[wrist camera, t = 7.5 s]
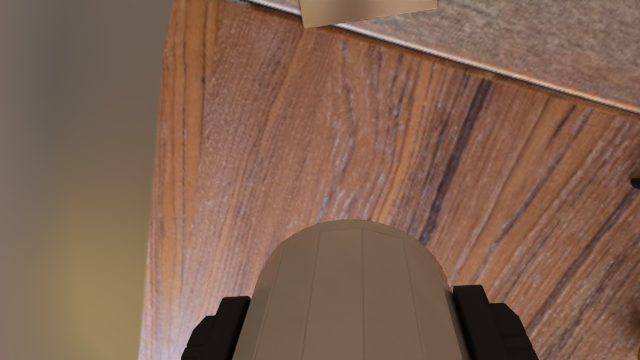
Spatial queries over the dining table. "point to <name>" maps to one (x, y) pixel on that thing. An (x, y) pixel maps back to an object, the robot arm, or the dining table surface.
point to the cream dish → (352, 299)
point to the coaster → (357, 10)
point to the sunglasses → (636, 183)
